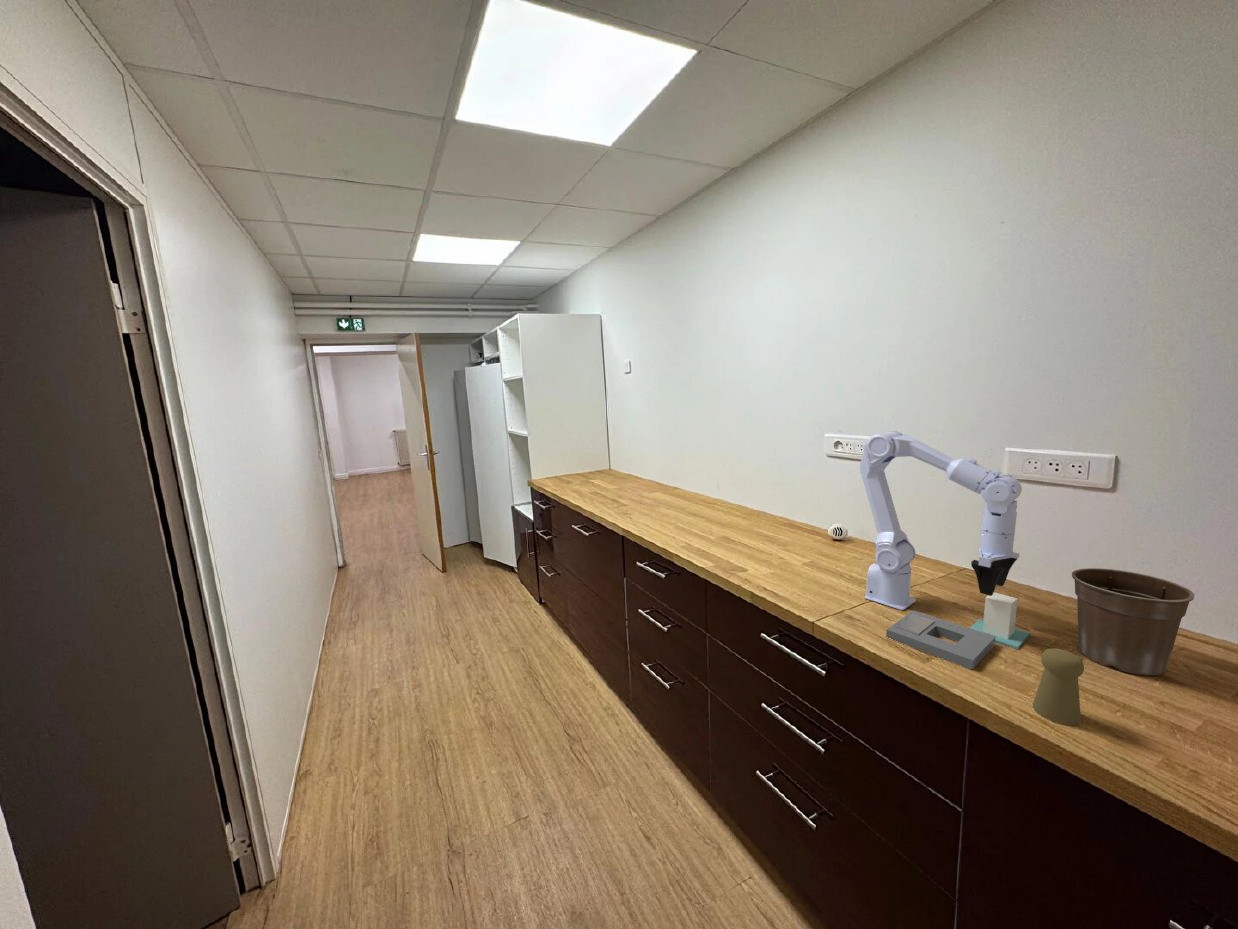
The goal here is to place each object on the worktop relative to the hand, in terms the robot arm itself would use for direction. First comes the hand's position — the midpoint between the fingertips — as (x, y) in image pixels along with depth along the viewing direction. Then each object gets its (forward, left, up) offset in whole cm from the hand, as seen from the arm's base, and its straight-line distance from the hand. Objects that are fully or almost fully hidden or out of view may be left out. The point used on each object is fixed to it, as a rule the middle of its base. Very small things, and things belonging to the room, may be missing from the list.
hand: (991, 589), depth 105 cm
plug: (+2, -1, -9) cm, 9 cm away
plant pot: (+20, +5, -10) cm, 23 cm away
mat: (+2, -1, -10) cm, 10 cm away
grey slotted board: (-5, -14, -10) cm, 17 cm away
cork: (+16, -25, -10) cm, 31 cm away
